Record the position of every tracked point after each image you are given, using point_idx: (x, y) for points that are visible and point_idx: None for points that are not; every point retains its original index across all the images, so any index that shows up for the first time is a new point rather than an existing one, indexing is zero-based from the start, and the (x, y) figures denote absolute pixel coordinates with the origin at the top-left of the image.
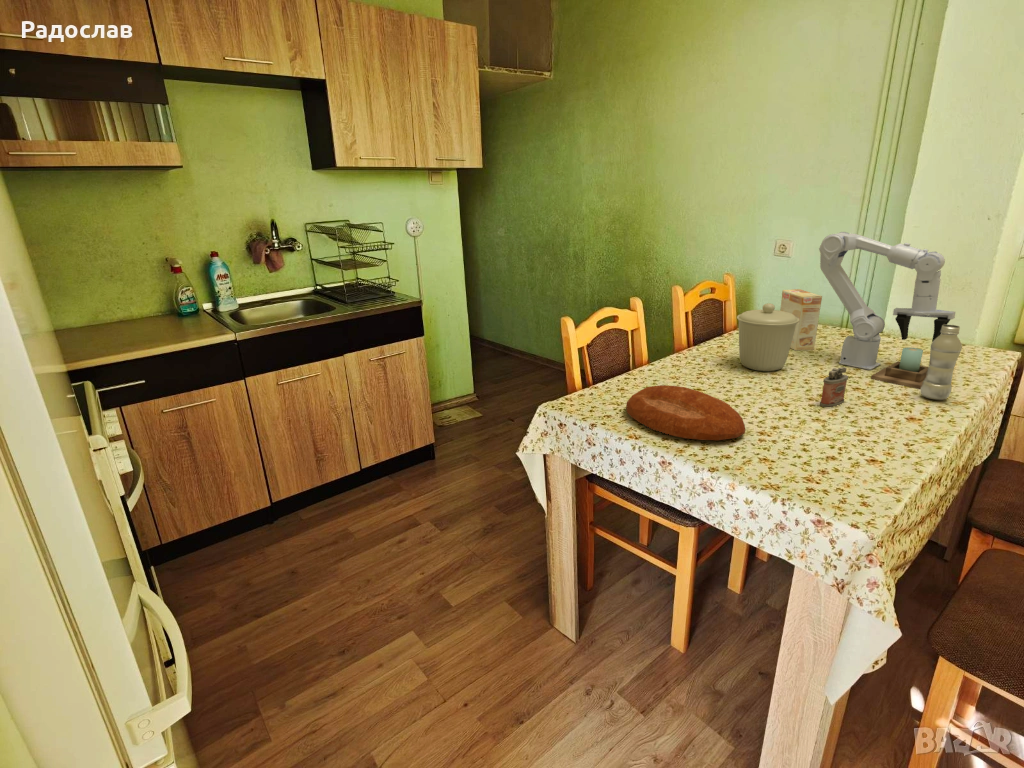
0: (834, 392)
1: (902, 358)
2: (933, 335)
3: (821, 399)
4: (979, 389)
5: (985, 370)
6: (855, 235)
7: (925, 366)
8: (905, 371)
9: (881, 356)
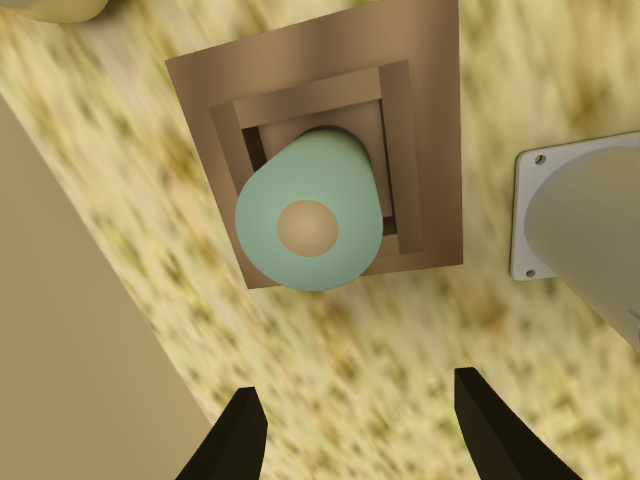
0: None
1: (348, 150)
2: (225, 443)
3: None
4: (122, 255)
5: None
6: None
7: None
8: (292, 88)
9: (551, 383)
